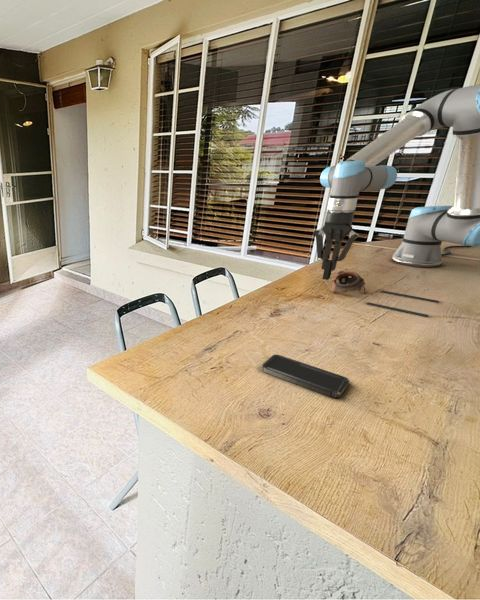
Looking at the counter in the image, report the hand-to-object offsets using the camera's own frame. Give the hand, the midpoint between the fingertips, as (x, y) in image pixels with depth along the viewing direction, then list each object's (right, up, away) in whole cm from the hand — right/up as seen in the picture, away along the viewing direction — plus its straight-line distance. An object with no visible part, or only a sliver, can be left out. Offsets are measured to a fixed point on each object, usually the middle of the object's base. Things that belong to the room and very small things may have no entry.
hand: (326, 278), depth 124 cm
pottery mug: (+4, -5, -4) cm, 7 cm away
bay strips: (+13, -9, -15) cm, 22 cm away
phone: (-39, -25, -48) cm, 67 cm away
